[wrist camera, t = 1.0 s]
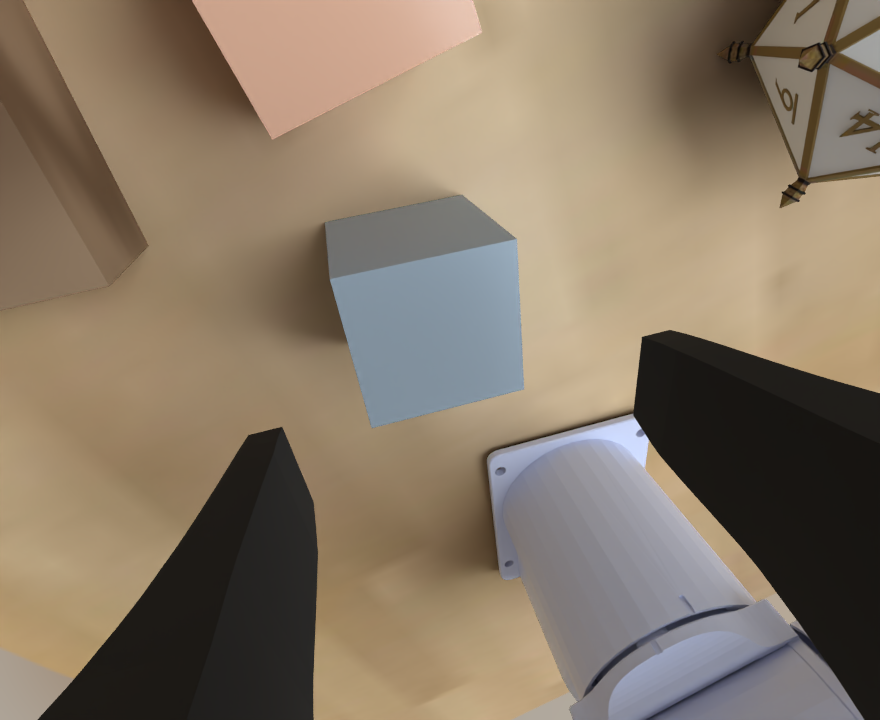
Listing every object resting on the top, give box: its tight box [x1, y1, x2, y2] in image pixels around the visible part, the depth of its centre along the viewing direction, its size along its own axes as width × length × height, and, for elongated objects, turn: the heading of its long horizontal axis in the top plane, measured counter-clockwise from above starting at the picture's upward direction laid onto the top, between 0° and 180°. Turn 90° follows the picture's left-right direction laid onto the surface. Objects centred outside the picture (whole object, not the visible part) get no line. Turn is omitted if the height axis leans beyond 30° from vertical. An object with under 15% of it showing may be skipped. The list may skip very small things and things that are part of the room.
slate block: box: [325, 195, 524, 428], centre depth 14 cm, size 4×4×5 cm
